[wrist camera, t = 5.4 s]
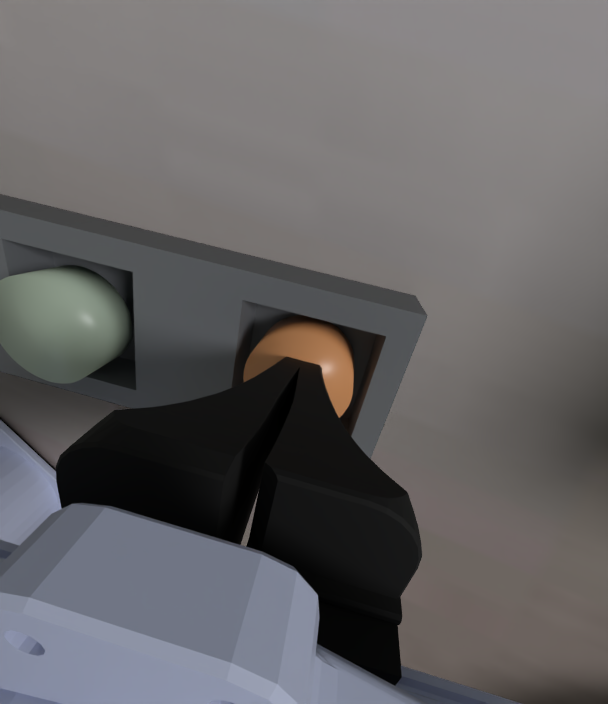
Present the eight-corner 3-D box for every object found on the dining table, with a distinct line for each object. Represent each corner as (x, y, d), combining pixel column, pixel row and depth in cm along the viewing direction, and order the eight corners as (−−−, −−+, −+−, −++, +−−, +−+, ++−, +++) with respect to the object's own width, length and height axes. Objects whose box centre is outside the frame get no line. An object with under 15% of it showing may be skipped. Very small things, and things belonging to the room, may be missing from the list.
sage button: (47, 347, 14) (1, 367, 12) (32, 253, 12) (-25, 262, 10) (133, 370, 14) (99, 395, 12) (130, 279, 12) (89, 291, 10)
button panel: (-100, 307, 17) (-171, 323, 15) (-157, 155, 14) (-257, 145, 12) (363, 434, 15) (364, 473, 13) (415, 296, 12) (427, 315, 10)
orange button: (253, 388, 14) (237, 414, 13) (266, 304, 13) (250, 320, 11) (340, 411, 14) (337, 442, 12) (366, 329, 12) (367, 350, 11)
